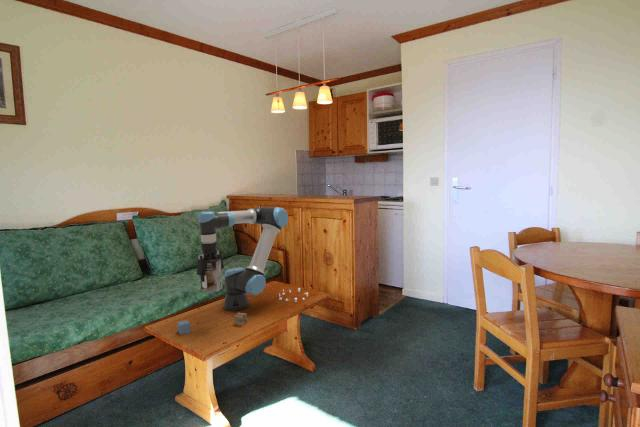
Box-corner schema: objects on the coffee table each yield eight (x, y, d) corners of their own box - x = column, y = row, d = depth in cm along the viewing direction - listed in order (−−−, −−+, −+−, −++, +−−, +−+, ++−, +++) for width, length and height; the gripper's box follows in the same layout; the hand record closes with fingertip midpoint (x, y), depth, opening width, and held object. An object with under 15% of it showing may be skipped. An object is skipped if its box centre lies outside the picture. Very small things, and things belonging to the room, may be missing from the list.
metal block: (239, 321, 201) (238, 312, 201) (247, 322, 200) (246, 313, 199) (234, 325, 197) (233, 316, 196) (242, 326, 195) (241, 317, 194)
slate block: (187, 329, 194) (186, 319, 193) (190, 332, 190) (190, 322, 189) (177, 331, 191) (177, 322, 190) (180, 335, 187) (179, 325, 186)
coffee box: (200, 291, 190) (198, 260, 188) (206, 287, 196) (204, 257, 194) (217, 292, 189) (215, 261, 187) (222, 287, 195) (221, 257, 193)
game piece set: (292, 290, 251) (292, 284, 251) (315, 296, 239) (314, 290, 238) (271, 298, 236) (271, 292, 236) (294, 305, 224) (294, 299, 223)
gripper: (219, 237, 200) (222, 278, 203) (186, 245, 183) (190, 289, 186) (229, 238, 196) (232, 280, 199) (196, 246, 179) (199, 292, 181)
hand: (211, 285), depth 192 cm, fingers closed on coffee box, 8 cm apart
